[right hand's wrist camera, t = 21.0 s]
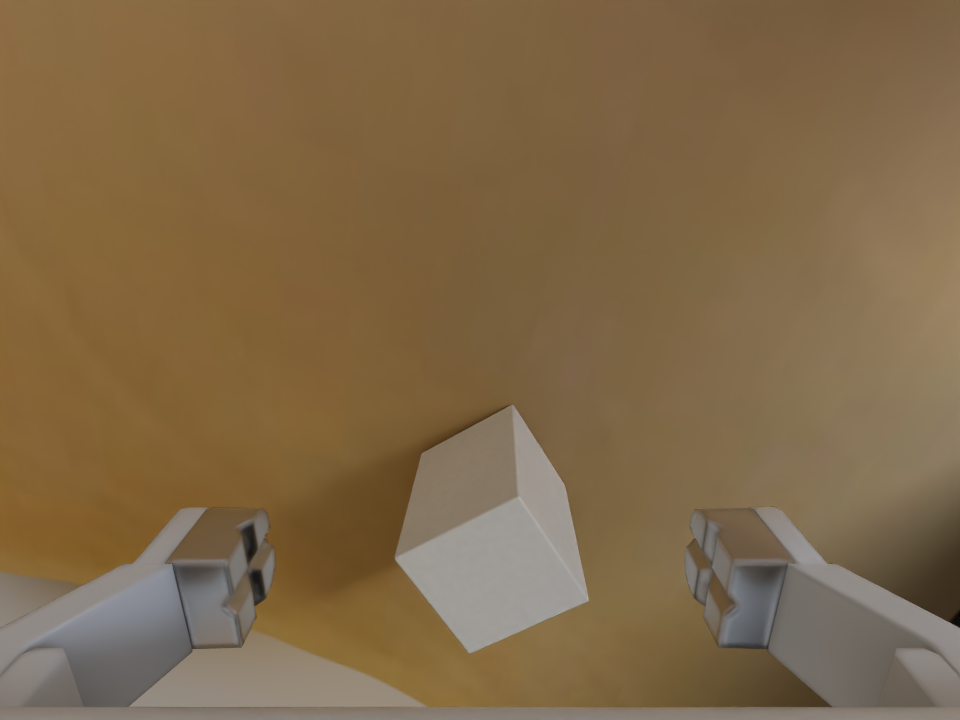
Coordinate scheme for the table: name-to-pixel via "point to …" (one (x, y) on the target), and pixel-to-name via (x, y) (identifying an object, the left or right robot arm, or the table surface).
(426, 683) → the table surface
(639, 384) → the table surface
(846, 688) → the right robot arm
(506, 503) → the brick
